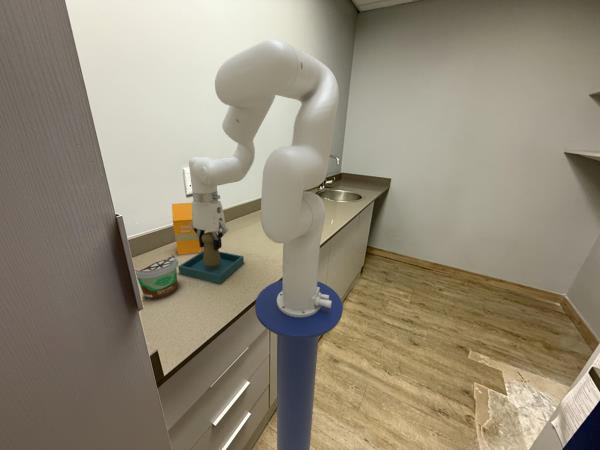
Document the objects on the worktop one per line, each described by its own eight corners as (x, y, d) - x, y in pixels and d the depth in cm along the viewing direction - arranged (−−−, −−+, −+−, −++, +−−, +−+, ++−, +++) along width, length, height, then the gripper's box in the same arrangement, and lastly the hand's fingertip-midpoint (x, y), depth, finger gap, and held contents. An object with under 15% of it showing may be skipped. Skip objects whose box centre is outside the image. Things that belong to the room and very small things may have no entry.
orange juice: (180, 246, 103) (172, 201, 96) (202, 244, 106) (196, 200, 99) (177, 255, 96) (170, 206, 89) (201, 252, 99) (195, 205, 92)
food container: (152, 307, 67) (145, 276, 64) (139, 300, 70) (132, 270, 66) (190, 285, 77) (186, 257, 74) (178, 280, 80) (173, 252, 77)
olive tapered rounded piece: (224, 260, 87) (222, 232, 84) (210, 267, 83) (207, 238, 79) (213, 256, 90) (211, 228, 87) (199, 262, 86) (196, 233, 82)
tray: (243, 263, 92) (243, 256, 91) (220, 284, 79) (219, 276, 78) (207, 255, 96) (206, 248, 95) (179, 273, 83) (178, 266, 82)
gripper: (235, 197, 79) (238, 247, 85) (192, 191, 84) (198, 239, 90) (221, 202, 72) (225, 256, 79) (175, 196, 77) (183, 247, 84)
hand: (210, 246), depth 85 cm, fingers closed on olive tapered rounded piece, 5 cm apart
